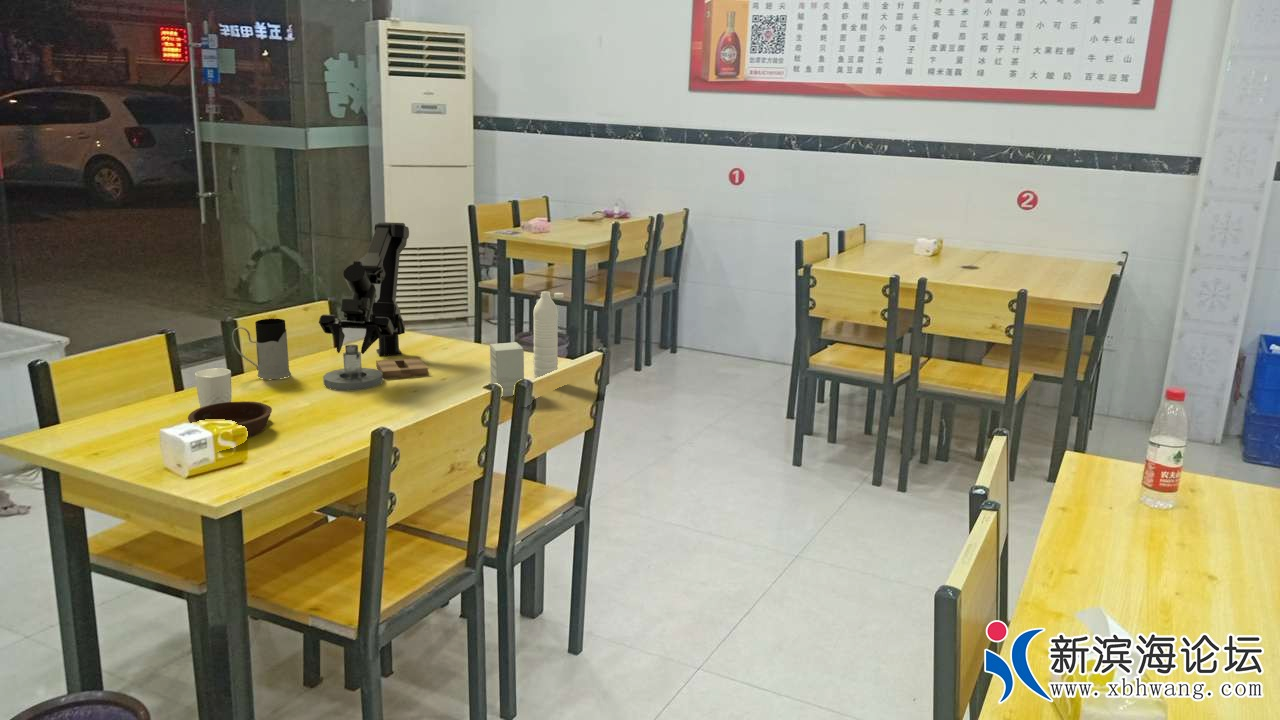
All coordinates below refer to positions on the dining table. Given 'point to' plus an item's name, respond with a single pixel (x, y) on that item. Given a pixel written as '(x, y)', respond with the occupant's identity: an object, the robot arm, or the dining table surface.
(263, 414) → the dish
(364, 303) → the robot arm
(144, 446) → the dining table surface
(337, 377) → the round bore
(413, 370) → the block
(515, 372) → the supplement box
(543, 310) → the water bottle
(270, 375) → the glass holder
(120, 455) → the dining table surface
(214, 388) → the white cup
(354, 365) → the grey small bottle
